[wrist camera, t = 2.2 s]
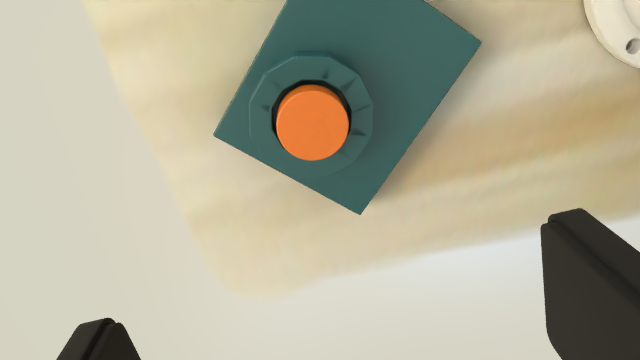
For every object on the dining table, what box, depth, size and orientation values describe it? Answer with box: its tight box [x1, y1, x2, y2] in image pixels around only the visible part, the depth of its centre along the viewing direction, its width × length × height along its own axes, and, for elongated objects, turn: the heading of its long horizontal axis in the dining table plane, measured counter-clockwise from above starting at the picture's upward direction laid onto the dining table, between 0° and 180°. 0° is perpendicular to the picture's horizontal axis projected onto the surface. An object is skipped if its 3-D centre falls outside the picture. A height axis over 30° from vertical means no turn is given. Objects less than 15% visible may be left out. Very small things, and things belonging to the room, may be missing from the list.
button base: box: [213, 0, 482, 215], centre depth 26 cm, size 12×10×4 cm
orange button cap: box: [276, 84, 349, 161], centre depth 24 cm, size 4×4×2 cm
